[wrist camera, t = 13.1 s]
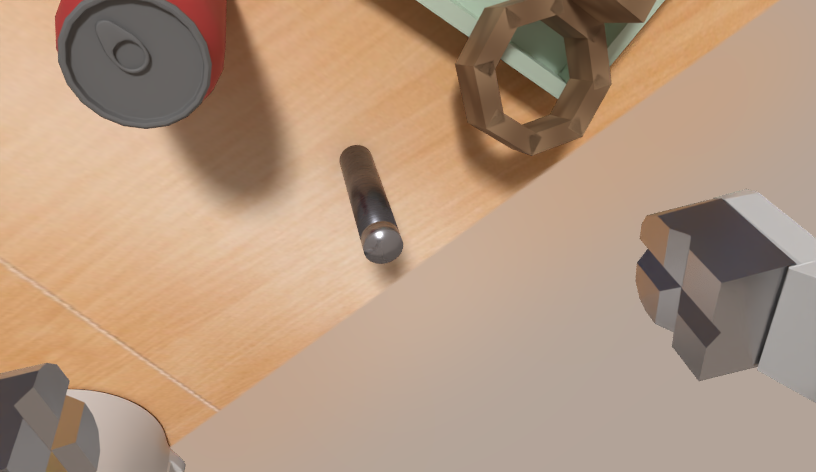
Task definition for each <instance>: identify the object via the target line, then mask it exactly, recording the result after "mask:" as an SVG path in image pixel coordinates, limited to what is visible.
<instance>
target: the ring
mask: <svg viewBox="0 0 816 472" xmlns="http://www.w3.org/2000/svg"><path fill="white" fill-rule="evenodd" d="M655 2H656V0H508V1H505V2H502V3H499V4H495V5H492V6H489V7H486V8H484V10H483V12H482V14H481V15H480V17H479V19H478V21H477V23H476V25H475V27H474V29H473V31H472V33H471V34H470V36H469V38H468V40H467V42H466V44H465V46H464V48H463V50H462V52H461V54H460V55H459V57H458V59H457V61H456V63H455V66H456V71H457V76H458V80H459V85H460V89H461V94H462V99H463V103H464V108H465V113H466V117H467V122H468V123H469V124H471V125H472V126H474V127H476V128H478V129H479V130H481V131H483V132H484V133H486V134H488V135H489V136H491V137H493V138H494V139H496V140H498V141H499V142H501V143H503V144H505V145H506V146H508V147H510V148H511V149H514V150H517V151H519V152H522V153H525V154H528V155H531V156H533V155H535V154H538V153H541V152H543V151H546V150H548V149H551V148H554V147H556V146H559V145H562V144H564V143H567V142H570V141H572V140H575V139H578V138H580V137H582V136H583V134H584V133H585V131H586V129H587V127H588V125H589V124H590V122H591V120H592V118H593V116H594V115H595V113H596V111H597V109H598V107H599V106H600V104H601V102H602V100H603V98H604V97H605V95H606V93H607V91H608V89H609V88H610V86H611V84H612V83H611V75H610V66H609V58H608V50H607V41H606V33H605V25H604V23H644V22H645V20H646V18H647V16H648V15H649V13H650V11H651V9H652V7H653V6H654V4H655ZM539 20H541V21H542V22H543V23H545V24H546V25H547V26H549V27H550V28H551V29H553V30H554V31H556V32H557V33H558V34H560V35H561V36H562V37H564V43H565V50H566V57H567V64H568V71H569V78H570V79H569V80H568V82H567V84H566V86H565V88H564V89H563V91H562V93H561V95H560V97H559V99H558V100H557V102H556V104H555V106H554V108H553V110H552V111H551V113H550V115H548V116H545V117H542V118H539V119H537V120H534V121H531V122H528V123H526V124H523V125H521V124H520V123H518V122H517V121H515V120H513V119H512V118H510V117H509V116H507V115H505V114H504V113H503V108H502V103H501V98H500V92H499V87H498V82H497V77H496V72H495V68H496V67H497V65H498V63H499V61H500V59H501V57H502V55H503V53H504V52H505V50H506V48H507V46H508V44H509V42H510V40H511V38H512V37H513V35H514V33H515V31H516V29H517V27H520V26H523V25H526V24H529V23H533V22H536V21H539Z"/></svg>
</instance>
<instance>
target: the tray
mask: <svg viewBox="0 0 816 472" xmlns="http://www.w3.org/2000/svg"><path fill="white" fill-rule="evenodd" d="M416 1H418V2H419V3H421V4H422V5H423V6H425V7H426V8H428V9H429V10H431V11H432V12H434V13H435V14H436V15H438V16H439V17H441V18H442V19H444V20H445V21H446V22H448V23H449V24H451V25H452V26H454V27H455V28H457V29H458V30H459V31H461V32H462V33H464V34H465V35H467V36H468V37H469V36H470V34H471V33H472V31H473V29H474V27H475V25H476V23H477V21H478V19H479V17H480V15H481V14H482V12H483V10H484V8H486V7H489V6H492V5H495V4H499V3H502V2H505V1H508V0H416ZM664 1H665V0H656V2H655V4H654V6H653V7H652V9H651V11H650V13H649V15H648V16H647V18H646V20H645V22H644V23H604V25H605V33H606V41H607V50H608V58H609V66H611V64H612V63H613V62H614V61H615V60H616V58H617V57H618V56H619V55H620V54H621V52H622V51H623V50H624V49H625V48H626V46H627V45H628V44H629V43H630V42H631V40H632V39H633V38H634V37H635V36H636V34H637V33H638V32H639V31H640V30H641V28H642V27H643V26H644V25H645V24H646V22H647V21H648V20H649V19H650V18H651V16H652V15H653V14H654V13H655V12H656V10H657V9H658V8H659V7H660V6H661V4H662V3H663V2H664ZM501 60H502V61H504V62H505V63H507V64H508V65H510V66H511V67H513V68H514V69H515V70H517V71H518V72H520V73H521V74H523V75H524V76H525V77H527V78H528V79H530V80H531V81H533V82H534V83H536V84H537V85H538V86H540V87H541V88H543V89H544V90H546V91H547V92H548V93H550V94H551V95H553V96H554V97H556V98H557V99H559V97H560V95H561V93H562V91H563V89H564V88H565V86H566V84H567V82H568V80H569V79H570V78H569V71H568V64H567V57H566V50H565V43H564V37H562V36H561V35H560V34H558V33H557V32H556V31H554V30H553V29H551V28H550V27H549V26H547V25H546V24H545V23H543V22H542V21H541V20H539V21H536V22H533V23H529V24H526V25H523V26H520V27H517V29H516V31H515V33H514V35H513V37H512V38H511V40H510V42H509V44H508V46H507V48H506V50H505V52H504V53H503V55H502V57H501Z"/></svg>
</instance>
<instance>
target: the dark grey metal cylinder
mask: <svg viewBox="0 0 816 472" xmlns="http://www.w3.org/2000/svg"><path fill="white" fill-rule="evenodd" d="M340 166H341V169H342V173H343V177H344V180H345V184H346V188H347V191H348V195H349V199H350V203H351V206H352V210H353V214H354V217H355V221H356V225H357V228H358V232H359V236H360V239H361V243H362V247H363V250H364V254H365V256H366V258H367V259H368V260H370V261H371V262H374V263H378V264H383V263H388V262H391V261H393V260H394V259H396V258H397V257H398V256H399V255H400V254H401V252H402V249H403V241H402V239H401V236H400V233H399V230H398V227H397V225H396V222H395V219H394V216H393V213H392V211H391V208H390V205H389V202H388V200H387V197H386V194H385V191H384V188H383V186H382V183H381V180H380V177H379V174H378V172H377V169H376V166H375V163H374V161H373V158H372V155H371V153H370V151H369V150H368V149H367V148H365V147H363V146H360V145H354V146H350V147H348V148H346V149H345V150H344V151H343V152H342V154H341V156H340Z"/></svg>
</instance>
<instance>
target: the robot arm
mask: <svg viewBox="0 0 816 472" xmlns="http://www.w3.org/2000/svg"><path fill="white" fill-rule="evenodd" d="M640 239H641V241H642V242H643V243H644V244H645V246H646V247H647V248H648V249H647V250H646V252H645V253H644V254H643V256H642V257H641V258H640V260H639V261H638V262H637V268H636V285H637V289H638V293H639V298H640V300H641V302H642V304H643V306H644V308H645V310H646V312H647V313H648V315H649V316H650V318H651V319H652V320H653V322H654V323H655V324H657V325H659V326H661V327H663V328H666V329H668V330H670V331H672V332H674V334H673V342H672V347H673V348H674V349H675V351H676V352H677V353H678V355H680V357H681V359H682V360H683V361H684V362H685V364H686V365H687V366H688V368H689V369H690V370H691V372H692V373H693V374H694V375H695V377H696V378H697V379H698V380H699V381H701V380H706V379H710V378H713V377H718V376H722V375H726V374H730V373H734V372H738V371H742V370H746V369H750V368H754V367H758V368H757V370H758V371H760V372H762V373H763V374H765V375H767V376H769V377H770V378H772V379H774V380H776V381H777V382H779V383H781V384H783V385H785V386H786V387H788V388H790V389H792V390H793V391H795V392H797V393H799V394H801V395H803V396H804V397H806V398H808V399H809V400H811V401H813V402H815V403H816V238H815V237H814V236H812V235H811V234H810V233H809V232H807V231H806V230H805V229H803V228H802V227H801V226H800V225H799V224H797V223H796V222H795V221H794V220H792V219H791V218H790V217H789V216H787V215H786V214H785V213H784V212H782V211H781V210H780V209H779V208H777V207H776V206H775V205H774V204H772V203H771V202H770V201H769V200H767V199H766V198H765V197H764V196H762V195H761V194H760V193H759V192H756V191H753V190H749V189H745V190H742V191H738V192H734V193H730V194H726V195H722V196H719V197H715V198H713V199H711V200H706V201H702V202H698V203H694V204H690V205H686V206H682V207H678V208H674V209H670V210H666V211H662V212H658V213H654V214H650V215H647V216H646V218H645V219H644V221H643V223H642V226H641V233H640ZM68 385H69V379H68V378H67V377H66V376H65V374H64V373H63V372H62V370H61V369H60V368H59V367H58V365H57V364H49V363H44V364H40V365H35V366H31V367H26V368H22V369H17V370H13V371H9V372H4V373H0V472H184V470H185V463H184V461H183V460H182V459H181V458H180V457H179V456H178V455H177V454H176V453H175V452H173V451H172V450H171V449H170V447H169V446H168V443H167V440H166V436H165V433H164V431H163V429H162V427H161V425H160V424H159V422H158V421H157V420H156V419H155V418H154V417H153V416H152V415H151V414H150V413H149V412H147V411H146V410H145V409H143V408H142V407H140V406H138V405H136V404H134V403H132V402H130V401H128V400H126V399H123V398H120V397H117V396H114V395H110V394H106V393H102V392H96V391H89V390H76V389H68Z"/></svg>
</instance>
